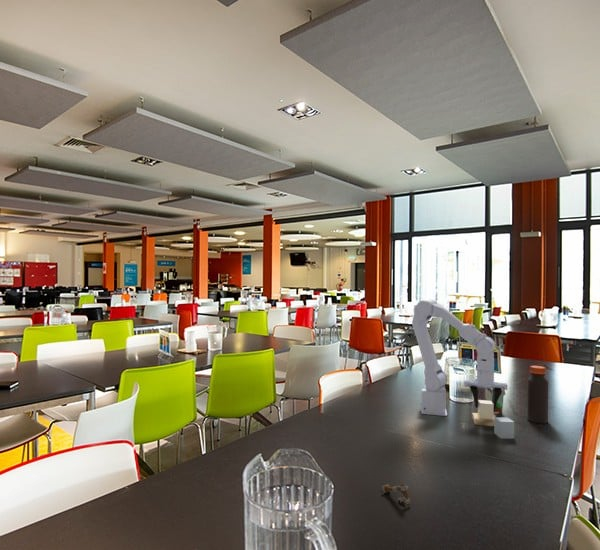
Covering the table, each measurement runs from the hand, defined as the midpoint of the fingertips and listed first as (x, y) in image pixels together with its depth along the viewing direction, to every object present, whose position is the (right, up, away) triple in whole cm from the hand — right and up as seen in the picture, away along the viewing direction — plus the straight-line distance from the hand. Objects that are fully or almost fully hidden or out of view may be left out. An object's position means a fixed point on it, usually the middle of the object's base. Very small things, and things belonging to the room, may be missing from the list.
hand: (485, 407), depth 154 cm
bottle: (+20, -6, +2) cm, 21 cm away
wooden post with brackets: (-45, -5, -54) cm, 71 cm away
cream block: (0, -3, 0) cm, 3 cm away
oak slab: (0, -6, 0) cm, 6 cm away
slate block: (0, -5, -14) cm, 15 cm away
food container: (+9, -6, +11) cm, 15 cm away
